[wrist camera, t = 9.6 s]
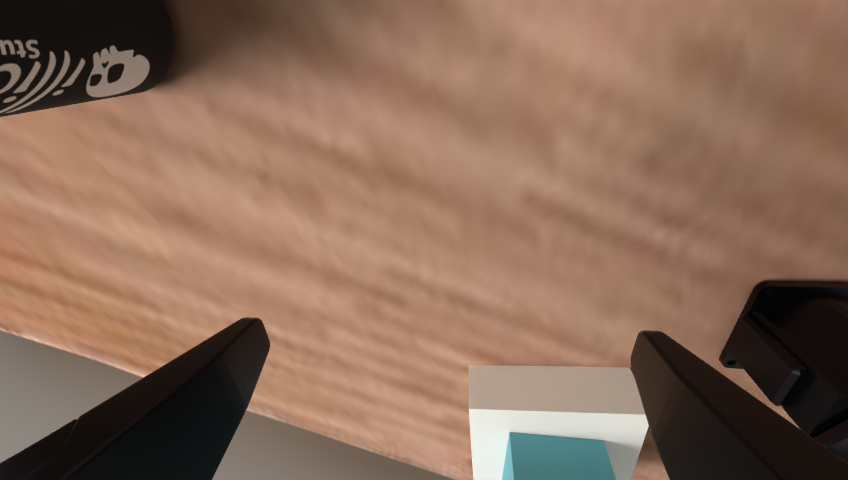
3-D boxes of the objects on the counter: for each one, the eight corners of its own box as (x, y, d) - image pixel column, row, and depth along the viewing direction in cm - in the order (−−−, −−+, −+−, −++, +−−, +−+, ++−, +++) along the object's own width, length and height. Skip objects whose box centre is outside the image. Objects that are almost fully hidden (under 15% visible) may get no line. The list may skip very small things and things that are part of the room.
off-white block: (627, 362, 25) (652, 414, 21) (604, 452, 30) (621, 506, 27) (468, 360, 26) (468, 408, 23) (473, 446, 32) (474, 496, 28)
